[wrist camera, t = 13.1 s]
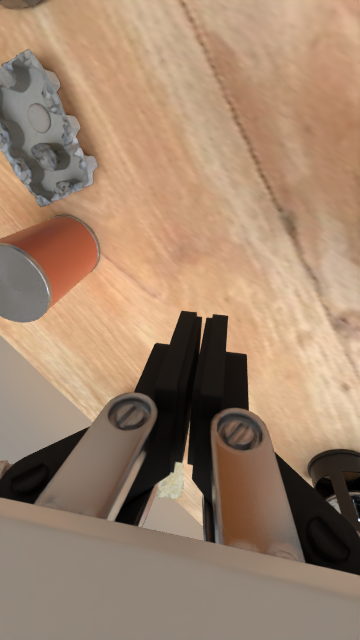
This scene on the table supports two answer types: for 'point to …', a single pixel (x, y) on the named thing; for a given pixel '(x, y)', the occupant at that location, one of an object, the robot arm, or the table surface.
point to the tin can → (44, 265)
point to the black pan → (18, 3)
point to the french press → (338, 482)
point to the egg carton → (40, 132)
